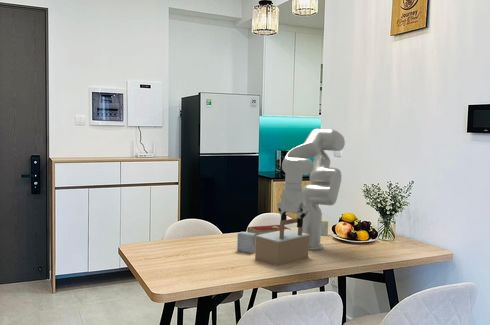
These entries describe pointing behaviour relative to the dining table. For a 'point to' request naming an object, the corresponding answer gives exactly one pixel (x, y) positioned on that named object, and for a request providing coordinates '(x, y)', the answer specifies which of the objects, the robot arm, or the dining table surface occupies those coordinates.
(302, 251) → the carton
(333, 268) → the dining table surface
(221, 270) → the dining table surface
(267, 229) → the hardcover book
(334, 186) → the robot arm
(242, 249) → the medicine box
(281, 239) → the carton lid
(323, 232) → the candy box
